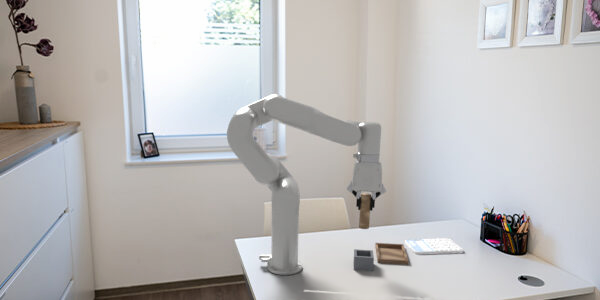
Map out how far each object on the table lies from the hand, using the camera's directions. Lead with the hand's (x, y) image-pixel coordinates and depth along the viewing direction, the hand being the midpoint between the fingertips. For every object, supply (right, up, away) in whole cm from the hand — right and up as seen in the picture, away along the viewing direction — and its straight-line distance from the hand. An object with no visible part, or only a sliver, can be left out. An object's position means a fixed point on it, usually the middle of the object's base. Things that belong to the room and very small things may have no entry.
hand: (365, 208), depth 163 cm
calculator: (+31, -19, +25) cm, 44 cm away
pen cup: (0, -22, +4) cm, 22 cm away
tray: (+12, -20, +15) cm, 28 cm away
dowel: (0, -7, +1) cm, 7 cm away
